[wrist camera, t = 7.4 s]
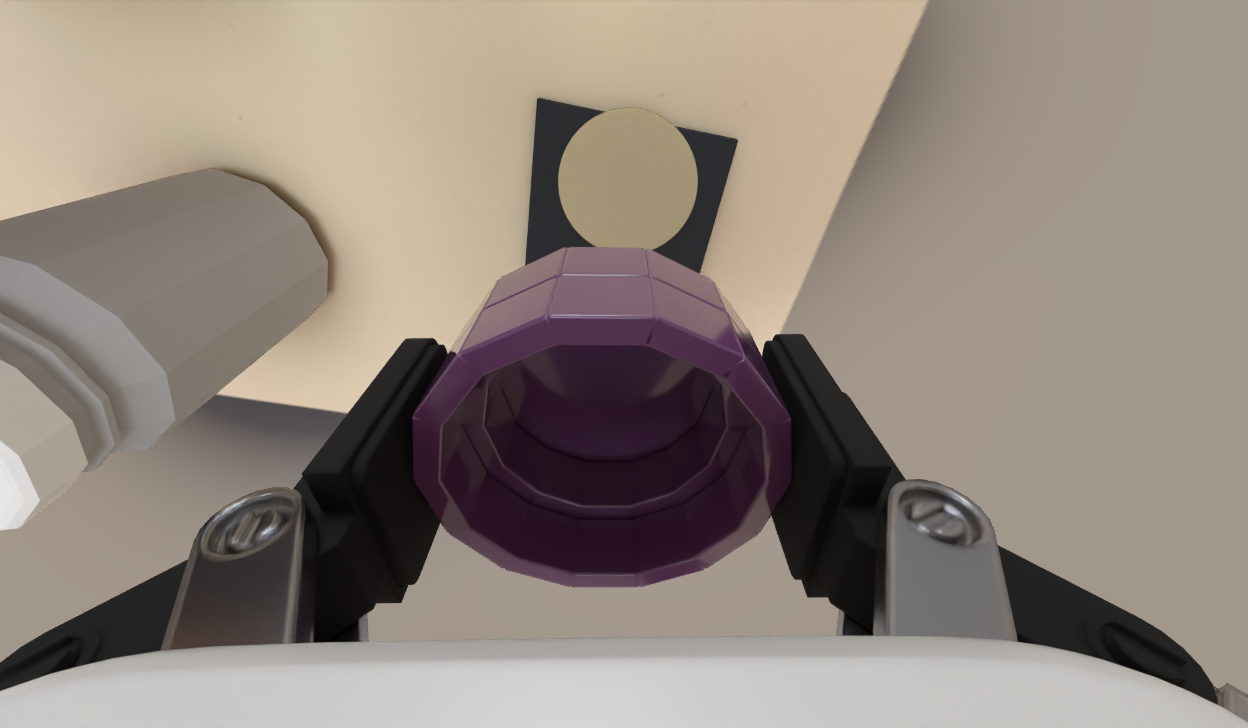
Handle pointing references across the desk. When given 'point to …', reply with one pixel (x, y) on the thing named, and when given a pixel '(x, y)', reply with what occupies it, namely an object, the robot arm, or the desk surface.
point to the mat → (623, 183)
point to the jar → (137, 318)
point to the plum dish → (603, 423)
